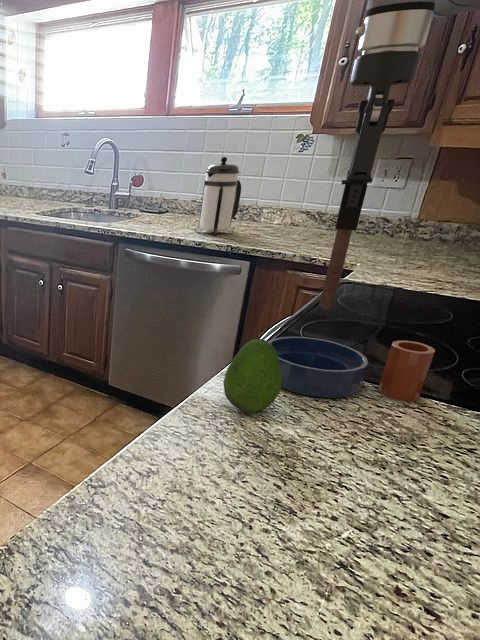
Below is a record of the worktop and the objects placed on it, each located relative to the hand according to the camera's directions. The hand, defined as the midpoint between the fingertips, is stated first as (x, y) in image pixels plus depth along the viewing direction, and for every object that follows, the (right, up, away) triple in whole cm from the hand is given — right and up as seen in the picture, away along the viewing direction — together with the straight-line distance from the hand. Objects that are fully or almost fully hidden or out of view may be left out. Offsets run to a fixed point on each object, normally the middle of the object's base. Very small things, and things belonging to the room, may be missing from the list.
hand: (345, 227), depth 81 cm
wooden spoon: (0, -12, +5) cm, 13 cm away
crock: (+12, -27, +5) cm, 29 cm away
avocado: (-14, -28, +2) cm, 32 cm away
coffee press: (+38, +34, +141) cm, 150 cm away
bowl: (0, -24, +11) cm, 26 cm away
